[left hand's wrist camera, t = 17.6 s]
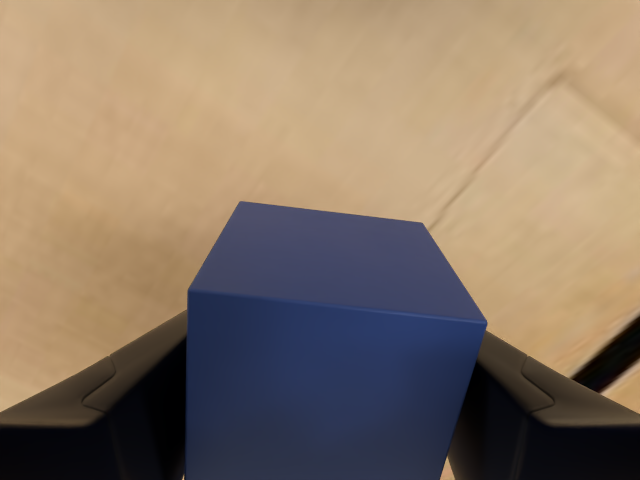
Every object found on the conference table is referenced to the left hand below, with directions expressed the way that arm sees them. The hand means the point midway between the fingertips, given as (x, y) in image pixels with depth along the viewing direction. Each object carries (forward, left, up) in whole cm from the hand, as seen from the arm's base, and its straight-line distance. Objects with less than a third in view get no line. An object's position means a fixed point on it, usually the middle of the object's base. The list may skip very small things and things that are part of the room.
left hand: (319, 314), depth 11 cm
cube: (0, 0, -1) cm, 1 cm away
